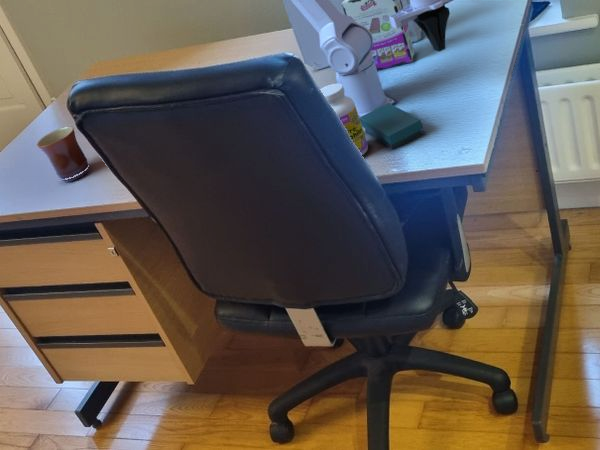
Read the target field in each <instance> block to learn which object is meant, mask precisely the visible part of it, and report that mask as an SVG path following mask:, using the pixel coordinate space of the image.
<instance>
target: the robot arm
mask: <svg viewBox="0 0 600 450" xmlns="http://www.w3.org/2000/svg"><path fill="white" fill-rule="evenodd" d="M291 1H292V2H293V3H294V5H295V6H296V7H297V8H298V9H299V11H300V12H301V13H302V14H303V15H304V16H305V18H306V19H307V20H308V21H309V22H310V23H311V25H312V26H313V27H314V28H315V29H316V31H317V32H318V33H319V38H320V48H321V49H322V51H323V52H324V53H325V55H326V57H327V60H328V63H329V65H330V66H329V67H330V68H331V69H332V70H333V71H334V72H335V80H336V84H342V85H343V88H344V90H345V92H344V95H345V96H347V97H350V98H351V99H352V100H353V101H354V103H355V106H356V110H357V113H358V116H359V117H361V116H363V115H365V114H367V113H369V112H371V111H373V110H375V109H377V108H379V107H381V106H383V105H385V104H387V103H390V104H392V105H394V104H395V100H394V99H392V98H390V97H388V96H386V95H385V91H384V89H383V86H382V82H381V79H380V76H379V73H378V70H377V69H376V66H375V62H374V59H373V56H372V54H371V51H370V50H371V48H372V46H373V37H372V34H371V33H370V31H369V30H368V29H367V28H366V27H364V26H362V25H360V24H358V23H357V22H356V21H355V20H354V19H353V18H352V17H351V16H347V15H344V14H341V13H340V12H339V11H338V10H337V9H336V7H335V6H334V5H333V4H332V3H331V1H330V0H291ZM453 1H454V0H410V3H411V4H410V5H408V6H407V7H405V8H404V9H402V10H401V11H399V12H398V13H396V14H394V15H392V16H390V17H389V18H390V22H391V25H392V27H393V28H396V29H398V28H400V27H402V25H403V24H405V23H407V22H410V21H412V20H413V21H414V22H415V23H416V24H417V25H418V26H419V27H420V30H421V32H423V33H424V35H425V37H426V38H427V39H428V41H429V43H430V45H431V46H432V49H433V50H434V51H435V52H442V51H444V50H446V32H447V25H448V21H449V17H450V14H451V11H450V8H449V7H447V6H446V5H447V4H449V3H451V2H453Z"/></svg>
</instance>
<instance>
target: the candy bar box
mask: <svg viewBox="0 0 600 450" xmlns="http://www.w3.org/2000/svg"><path fill="white" fill-rule="evenodd" d="M342 7H343V10H344V13H345V15H347V16H351V17H352V18H353V19H354V20H355V21H356V22H357V23H358V24H360V25H362V26H364V27H366V28H367V29H368V30H369V31H370V33H371V34H372V37H373V46H372V48H371V50H370V51H371V54H372V56H373V59H374V62H375V66H376V69H377V71H380V70H384V69H389V68H393V67H397V66H402V65H405V64H409V63H412V62H414V61H413V60H414V58H415V54H416V52H415V48H414V45H413V42H412V41H411V38H410V34H409V31H408V28H407V24H406V23H405V24H403V25H402V27H400V28H398V29H396V28H393V27H392V25H391V22H390V18H389V17H390V16H392V15H394V14H396V13H398V12H399V11H401V10H402V7H401V3H400V0H343V2H342Z"/></svg>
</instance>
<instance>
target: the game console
mask: <svg viewBox="0 0 600 450" xmlns="http://www.w3.org/2000/svg"><path fill="white" fill-rule="evenodd" d="M281 1H282V3H283V6H284V9H285V12H286V15H287V18H288V20H289V23H290V26H291V28H292V32H293V34H294V37H295V40H296V43H297V45H298V48H299V51H300V54H301V56H302V59H303V62H304V65H307V66H309V67H311V68H312V67H313V66H316V67H313V69H314V70H321V69H325V68H329V67H330V65H329V63H328V60H327V57H326V55H325V53H324V52H323V51H322V49H321V48H320V38H319V33H318V32H317V31H316V29H315V28H314V27H313V26H312V25H311V23H310V22H309V21H308V20H307V19H306V18H305V16H304V15H303V14H302V13H301V12H300V11H299V9H298V8H297V7H296V6H295V5H294V3H293V2H292V1H291V0H281ZM330 1H331V3H332V4H333V5H334V6H335V7H336V9H337V10H338V11H339V12H340V13H341V14H344V15H345V13H344V10H343V7H342V2H343V0H330ZM400 3H401V7H402V9H404V8H405V7H407V6H408V5H410V4H411V3H410V0H400ZM406 24H407V28H408V31H409V34H410V38H411V41H412V43H415V42H418V41H420V40H421V39H422V29H421V28H420V27H419V26H418V25H417V24H416V23H415V22H414V21H413V20H412V21H410V22H407V23H406ZM318 65H319V66H318Z"/></svg>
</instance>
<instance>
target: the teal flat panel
mask: <svg viewBox="0 0 600 450" xmlns="http://www.w3.org/2000/svg"><path fill="white" fill-rule="evenodd" d="M359 119H360V122H361V125H362V128H364V131H365V132H366V133H367V134H369V135H370V136H371V137H373V138H375V139H376V140H378V141H379V142H381V143H383V144H384V145H385V146H387V147H389V148H390V149H392V150H394V149H396V148H399V147H400V146H402V145H404V144H406V143H408V142H410V141H412V140H414V139H416V138H418V137H421V136H422V135H423V133H422V132H423V131H422V130H423V129H424V126H423V122H422V120H421V119H420V118H418V117H416V116H414V115H412V114H410V113H409V112H408V111H405V110H403V109H401V108H399V107H397V106H395V105H394V104H390V103H387V104H385V105H383V106H381V107H379V108H377V109H375V110H373V111H371V112H369V113H367V114H365V115H363V116H361V117H359Z"/></svg>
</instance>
